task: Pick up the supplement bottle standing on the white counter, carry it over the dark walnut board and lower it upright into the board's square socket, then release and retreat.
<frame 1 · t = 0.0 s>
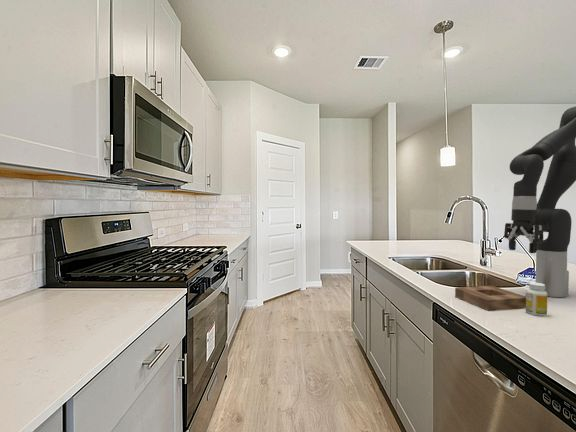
hand: (521, 251, 120), 17 cm above the table, tool pointing down, fingers open, 8 cm apart
supplement bottle: (536, 314, 102), on the table
socket board: (490, 302, 114), on the table
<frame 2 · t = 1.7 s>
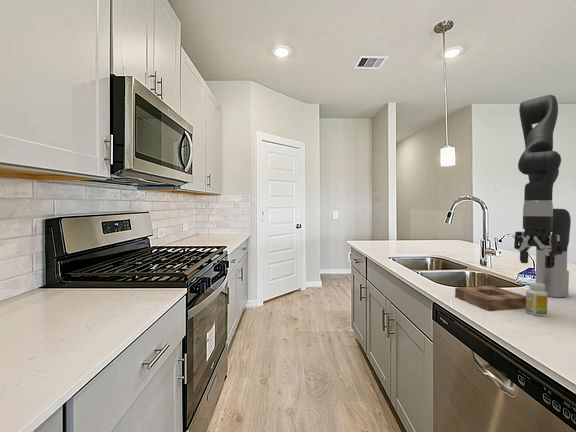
hand: (536, 265, 101), 15 cm above the table, tool pointing down, fingers open, 8 cm apart
nothing on the table moved.
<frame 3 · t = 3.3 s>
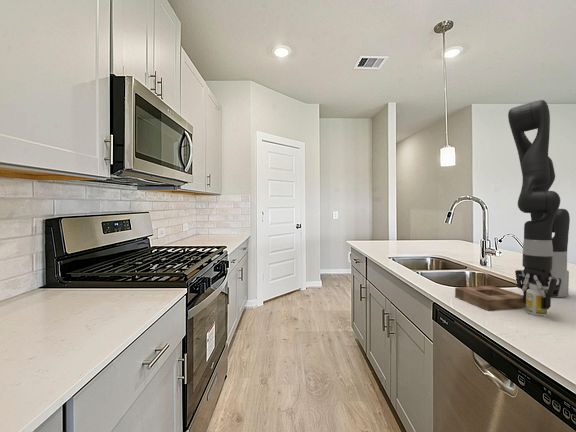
hand: (536, 305, 102), 2 cm above the table, tool pointing down, fingers closed on supplement bottle, 5 cm apart
supplement bottle: (536, 313, 102), on the table, touching gripper
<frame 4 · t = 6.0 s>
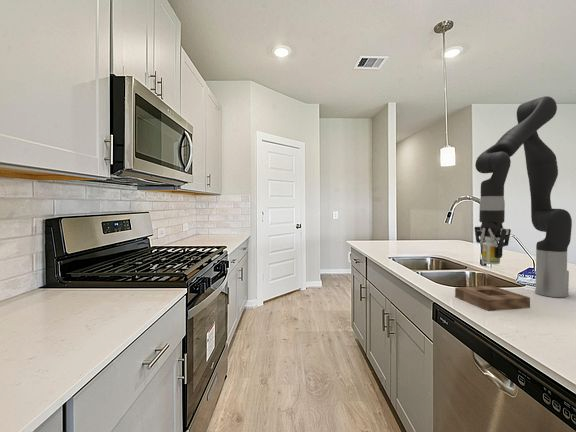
hand: (491, 256, 113), 17 cm above the table, tool pointing down, fingers closed on supplement bottle, 5 cm apart
supplement bottle: (490, 263, 113), point 14 cm above the table, touching gripper
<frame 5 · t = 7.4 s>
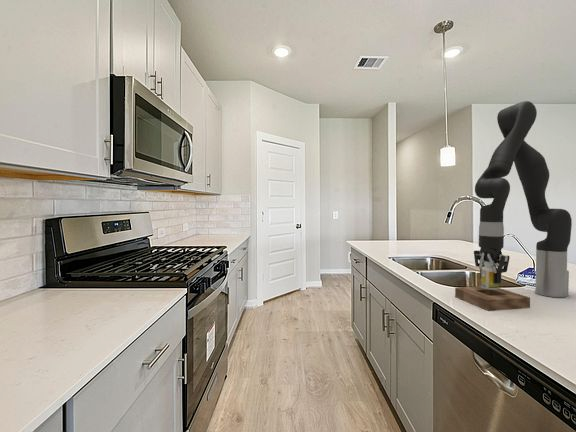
hand: (490, 281, 114), 7 cm above the table, tool pointing down, fingers closed on supplement bottle, 5 cm apart
supplement bottle: (489, 288, 114), point 5 cm above the table, touching gripper
when the fingers open (4 cm above the table, at t = 8.6 s): supplement bottle drops 1 cm, resting in socket board.
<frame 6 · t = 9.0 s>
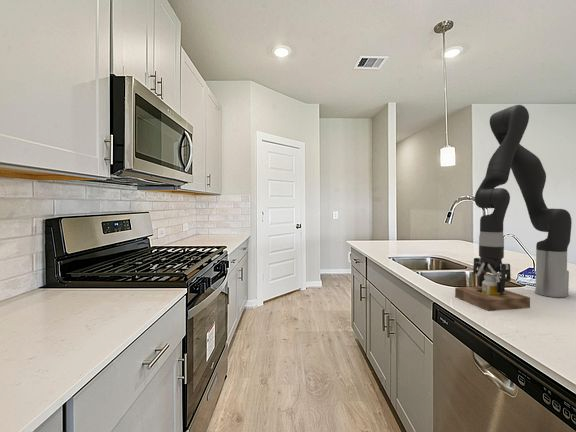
hand: (490, 289, 113), 5 cm above the table, tool pointing down, fingers open, 8 cm apart
supplement bottle: (490, 302, 114), resting in socket board
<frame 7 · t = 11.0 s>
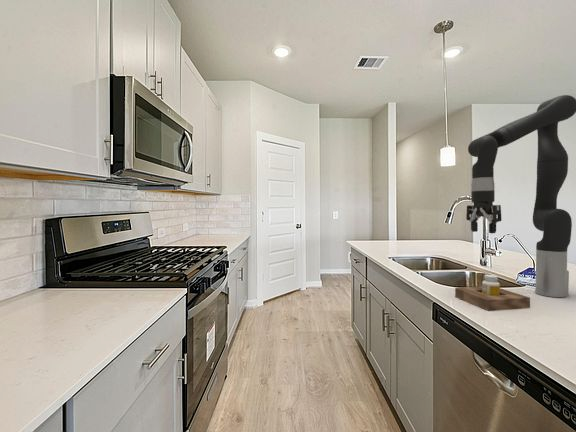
hand: (483, 232, 121), 24 cm above the table, tool pointing down, fingers open, 8 cm apart
nothing on the table moved.
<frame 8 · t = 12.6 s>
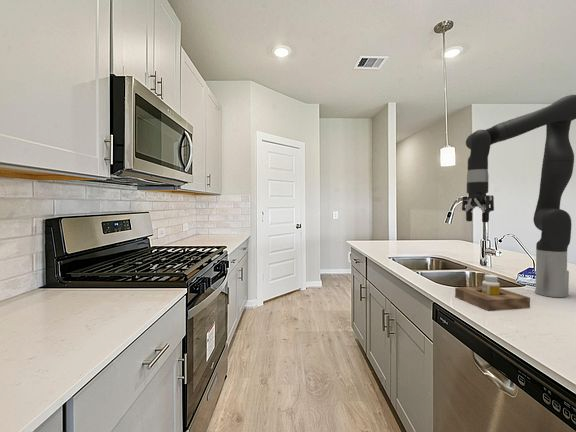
hand: (476, 221, 127), 28 cm above the table, tool pointing down, fingers open, 8 cm apart
nothing on the table moved.
at the end: supplement bottle 0.1 cm off-centre on the socket board, point 0.0 cm above the socket board's base; supplement bottle tilted 0°; the gripper is holding nothing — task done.
